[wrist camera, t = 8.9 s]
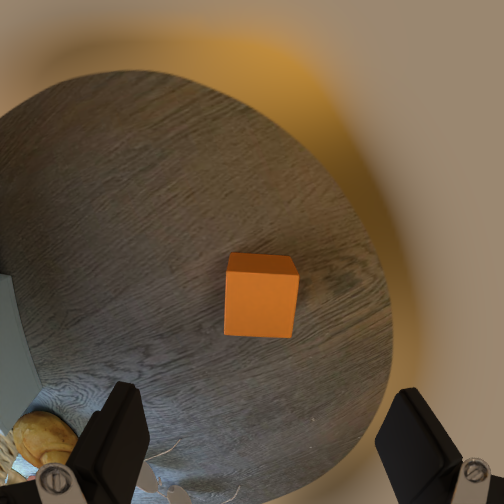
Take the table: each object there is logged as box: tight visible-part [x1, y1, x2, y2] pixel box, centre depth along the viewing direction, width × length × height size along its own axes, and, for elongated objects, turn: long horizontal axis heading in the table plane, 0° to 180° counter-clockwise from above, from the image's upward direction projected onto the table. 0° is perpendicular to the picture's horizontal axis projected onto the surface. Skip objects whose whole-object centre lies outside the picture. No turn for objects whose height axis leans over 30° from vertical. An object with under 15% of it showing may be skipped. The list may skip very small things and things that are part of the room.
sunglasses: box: [136, 439, 240, 504], centre depth 27 cm, size 14×8×5 cm, turn 29°
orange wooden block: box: [224, 252, 300, 338], centre depth 20 cm, size 4×4×4 cm
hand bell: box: [6, 469, 27, 485], centre depth 28 cm, size 8×8×16 cm
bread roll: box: [13, 411, 78, 468], centre depth 24 cm, size 13×10×8 cm
